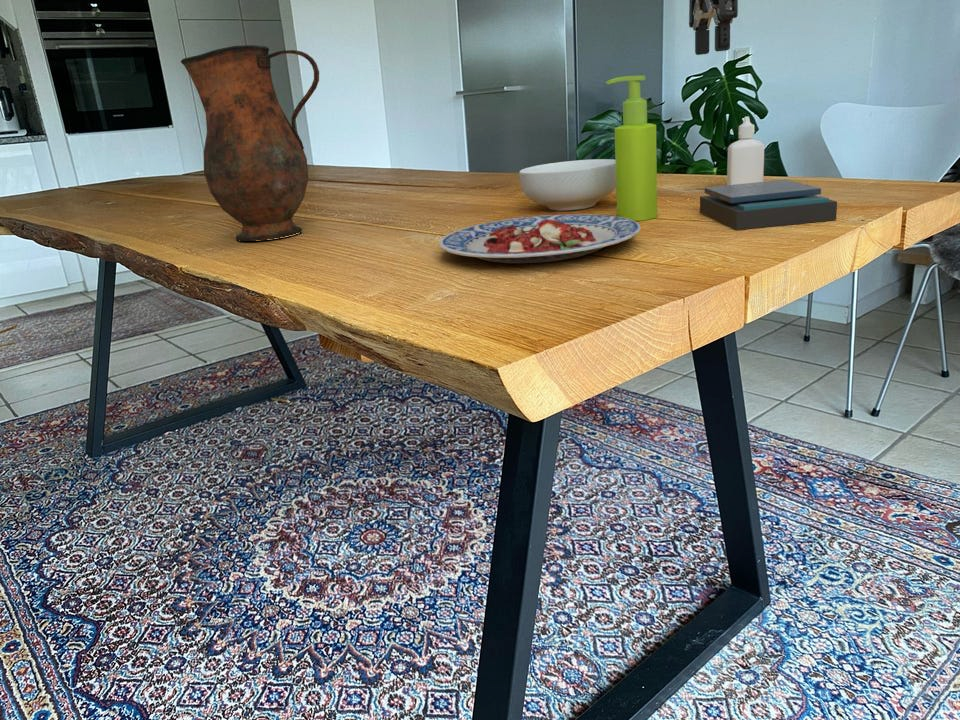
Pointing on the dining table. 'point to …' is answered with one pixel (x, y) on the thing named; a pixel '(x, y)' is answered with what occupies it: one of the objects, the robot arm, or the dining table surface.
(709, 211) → the scale
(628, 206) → the soap dispenser
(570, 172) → the cereal bowl
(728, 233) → the dining table surface
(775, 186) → the scale plate
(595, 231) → the ceramic plate
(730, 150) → the eye dropper bottle
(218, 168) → the pitcher
